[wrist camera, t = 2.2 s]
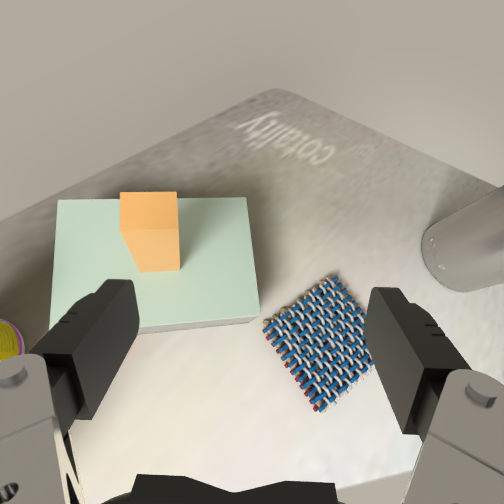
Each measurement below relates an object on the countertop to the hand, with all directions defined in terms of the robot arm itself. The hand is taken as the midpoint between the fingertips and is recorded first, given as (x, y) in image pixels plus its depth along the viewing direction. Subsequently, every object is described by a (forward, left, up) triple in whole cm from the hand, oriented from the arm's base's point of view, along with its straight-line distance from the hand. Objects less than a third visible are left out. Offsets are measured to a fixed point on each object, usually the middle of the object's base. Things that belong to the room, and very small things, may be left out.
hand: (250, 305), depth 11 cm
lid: (+4, -7, -18) cm, 20 cm away
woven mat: (-12, +1, -23) cm, 26 cm away
